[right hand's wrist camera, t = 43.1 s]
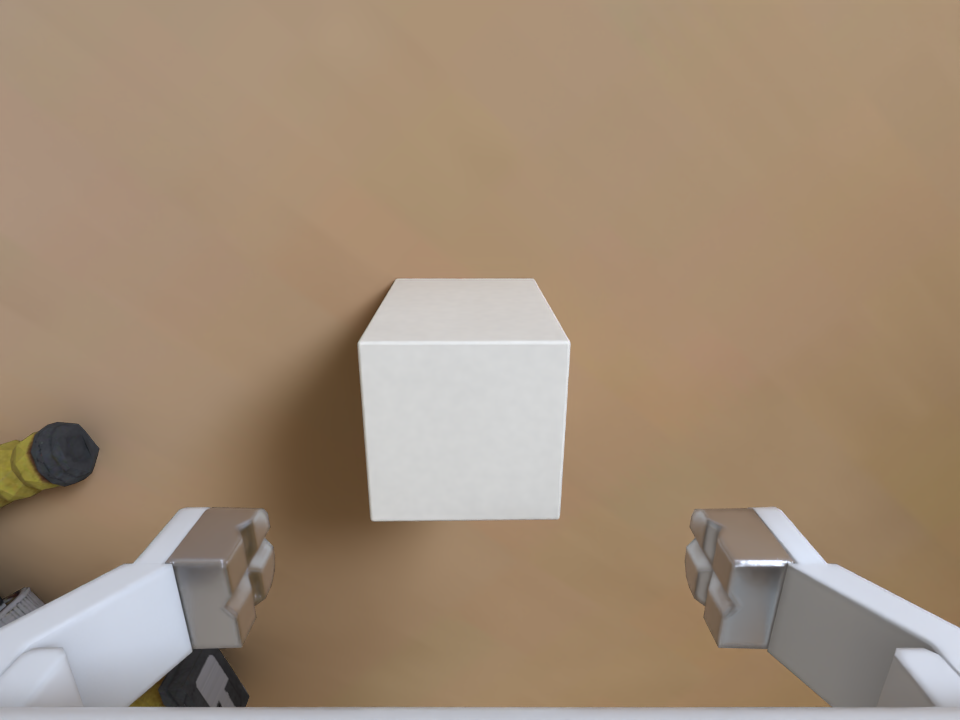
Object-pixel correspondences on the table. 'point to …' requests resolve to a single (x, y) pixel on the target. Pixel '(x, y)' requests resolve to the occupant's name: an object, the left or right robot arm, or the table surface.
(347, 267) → the table surface
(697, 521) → the right robot arm
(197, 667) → the toy gun
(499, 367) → the brick
